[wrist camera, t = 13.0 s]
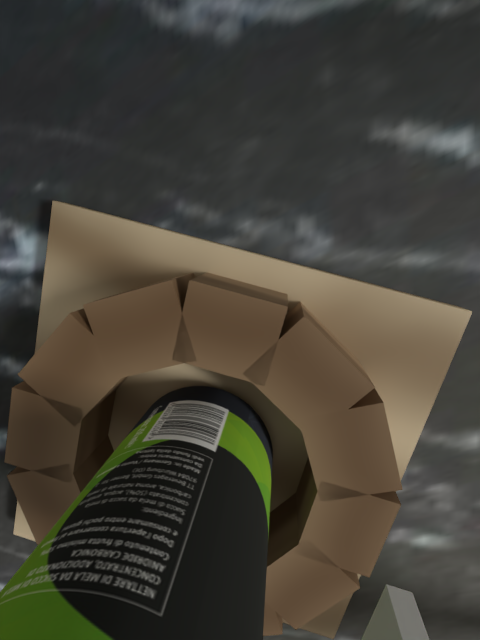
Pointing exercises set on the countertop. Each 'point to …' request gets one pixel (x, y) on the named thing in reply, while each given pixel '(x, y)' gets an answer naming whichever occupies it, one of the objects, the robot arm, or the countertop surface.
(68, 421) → the holder
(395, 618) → the robot arm
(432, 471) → the countertop surface
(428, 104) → the countertop surface
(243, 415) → the beverage can
